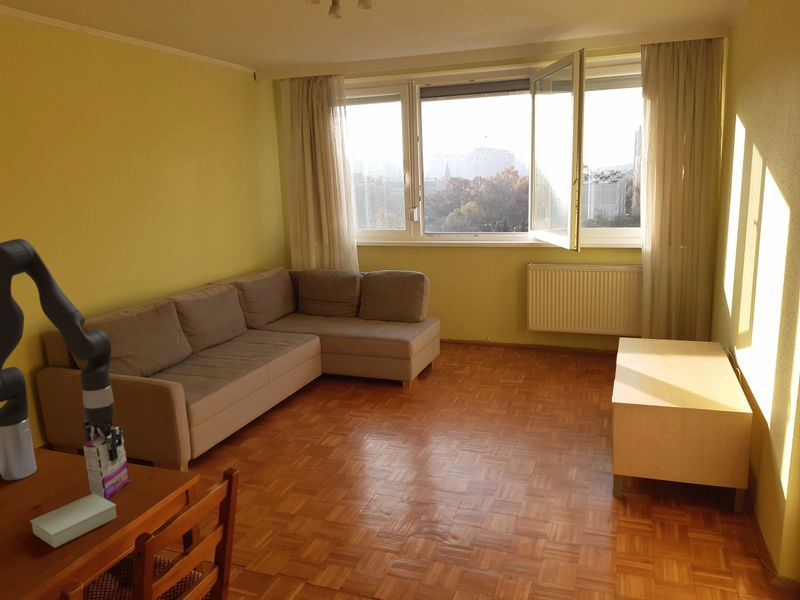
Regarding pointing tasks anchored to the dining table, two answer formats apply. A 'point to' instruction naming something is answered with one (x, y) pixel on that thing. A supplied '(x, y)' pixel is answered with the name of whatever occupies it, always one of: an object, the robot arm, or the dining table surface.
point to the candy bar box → (105, 468)
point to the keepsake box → (73, 519)
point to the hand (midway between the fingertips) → (106, 457)
